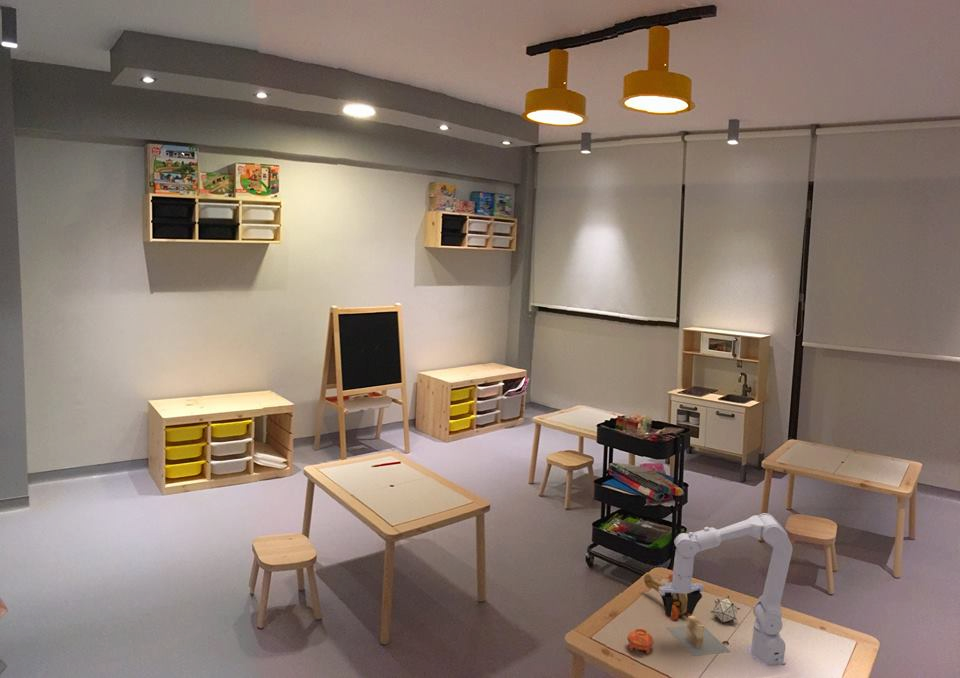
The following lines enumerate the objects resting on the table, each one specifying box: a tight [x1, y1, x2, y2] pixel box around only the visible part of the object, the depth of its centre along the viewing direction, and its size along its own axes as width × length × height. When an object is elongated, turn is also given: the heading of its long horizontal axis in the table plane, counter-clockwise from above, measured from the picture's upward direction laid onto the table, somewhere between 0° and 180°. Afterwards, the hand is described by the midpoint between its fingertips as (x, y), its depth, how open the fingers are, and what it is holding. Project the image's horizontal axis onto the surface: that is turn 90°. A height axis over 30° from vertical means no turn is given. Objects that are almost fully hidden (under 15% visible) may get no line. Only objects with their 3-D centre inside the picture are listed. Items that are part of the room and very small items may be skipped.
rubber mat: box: [666, 625, 731, 657], centre depth 221 cm, size 16×13×1 cm
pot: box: [626, 628, 655, 654], centre depth 214 cm, size 8×8×7 cm
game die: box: [710, 595, 741, 625], centre depth 234 cm, size 9×8×10 cm
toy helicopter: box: [643, 573, 691, 621], centre depth 240 cm, size 8×21×14 cm, turn 28°
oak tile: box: [686, 615, 705, 647], centre depth 219 cm, size 6×2×7 cm, turn 16°
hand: (678, 614), depth 217 cm, fingers open, 7 cm apart
